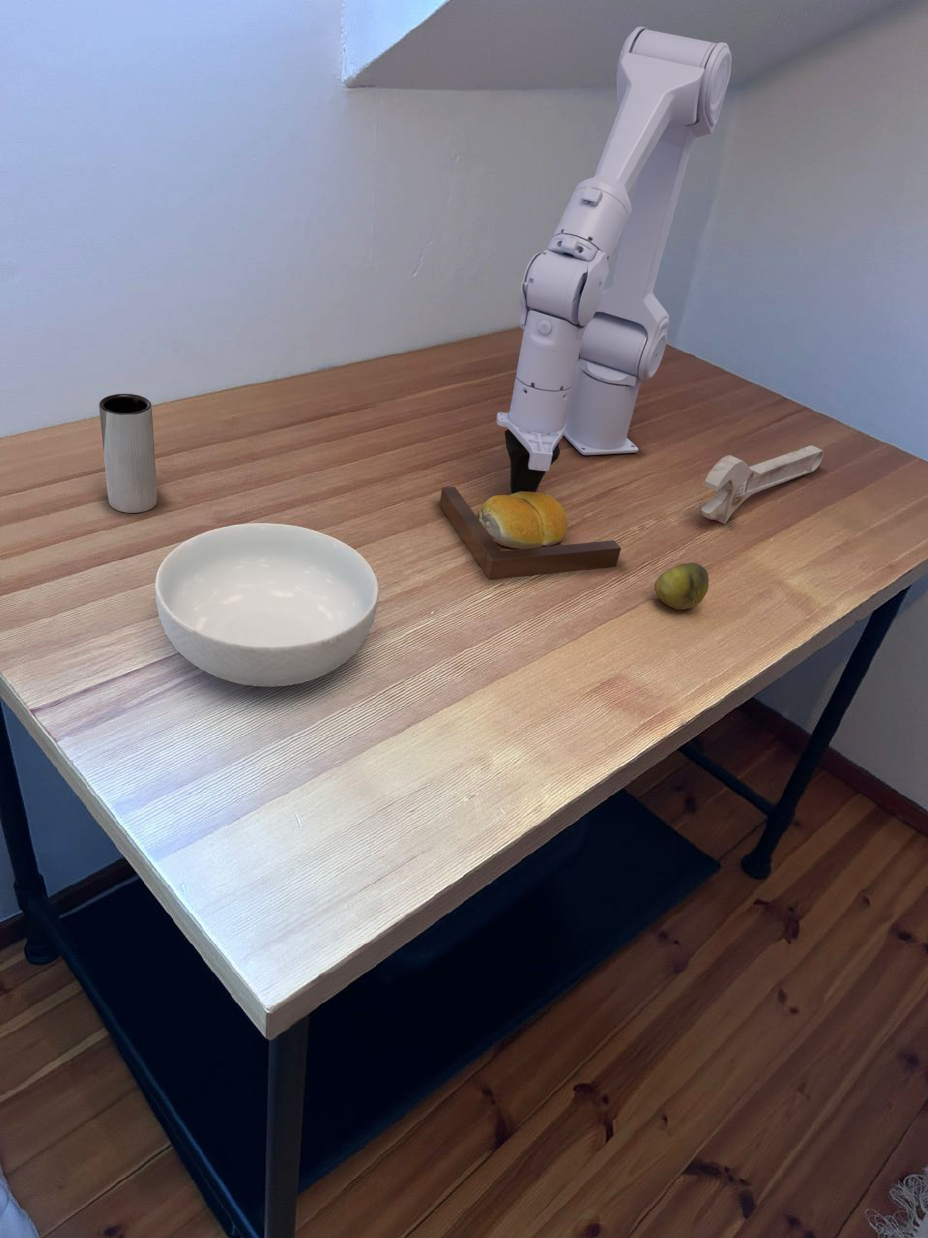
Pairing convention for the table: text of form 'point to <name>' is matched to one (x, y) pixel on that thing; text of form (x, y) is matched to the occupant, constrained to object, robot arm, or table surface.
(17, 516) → the table surface
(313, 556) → the cereal bowl
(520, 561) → the corner stop
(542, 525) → the bread roll
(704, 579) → the lime
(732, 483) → the wrench
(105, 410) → the grey cylindrical vase
